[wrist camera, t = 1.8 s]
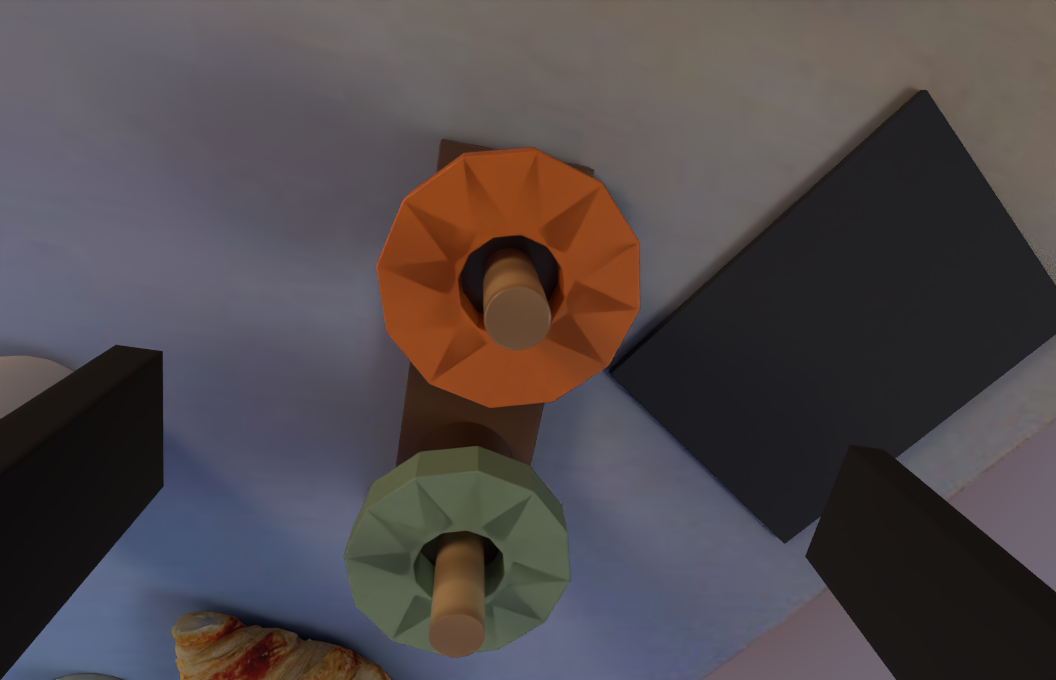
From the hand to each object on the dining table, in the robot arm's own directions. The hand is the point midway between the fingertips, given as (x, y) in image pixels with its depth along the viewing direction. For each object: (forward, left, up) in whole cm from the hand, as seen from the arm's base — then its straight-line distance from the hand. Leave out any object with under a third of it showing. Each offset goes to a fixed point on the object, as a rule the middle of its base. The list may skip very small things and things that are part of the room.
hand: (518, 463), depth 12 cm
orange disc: (-1, 0, -12) cm, 13 cm away
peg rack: (+4, +4, -20) cm, 21 cm away
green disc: (+8, +8, -12) cm, 17 cm away
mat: (-12, +15, -20) cm, 28 cm away
